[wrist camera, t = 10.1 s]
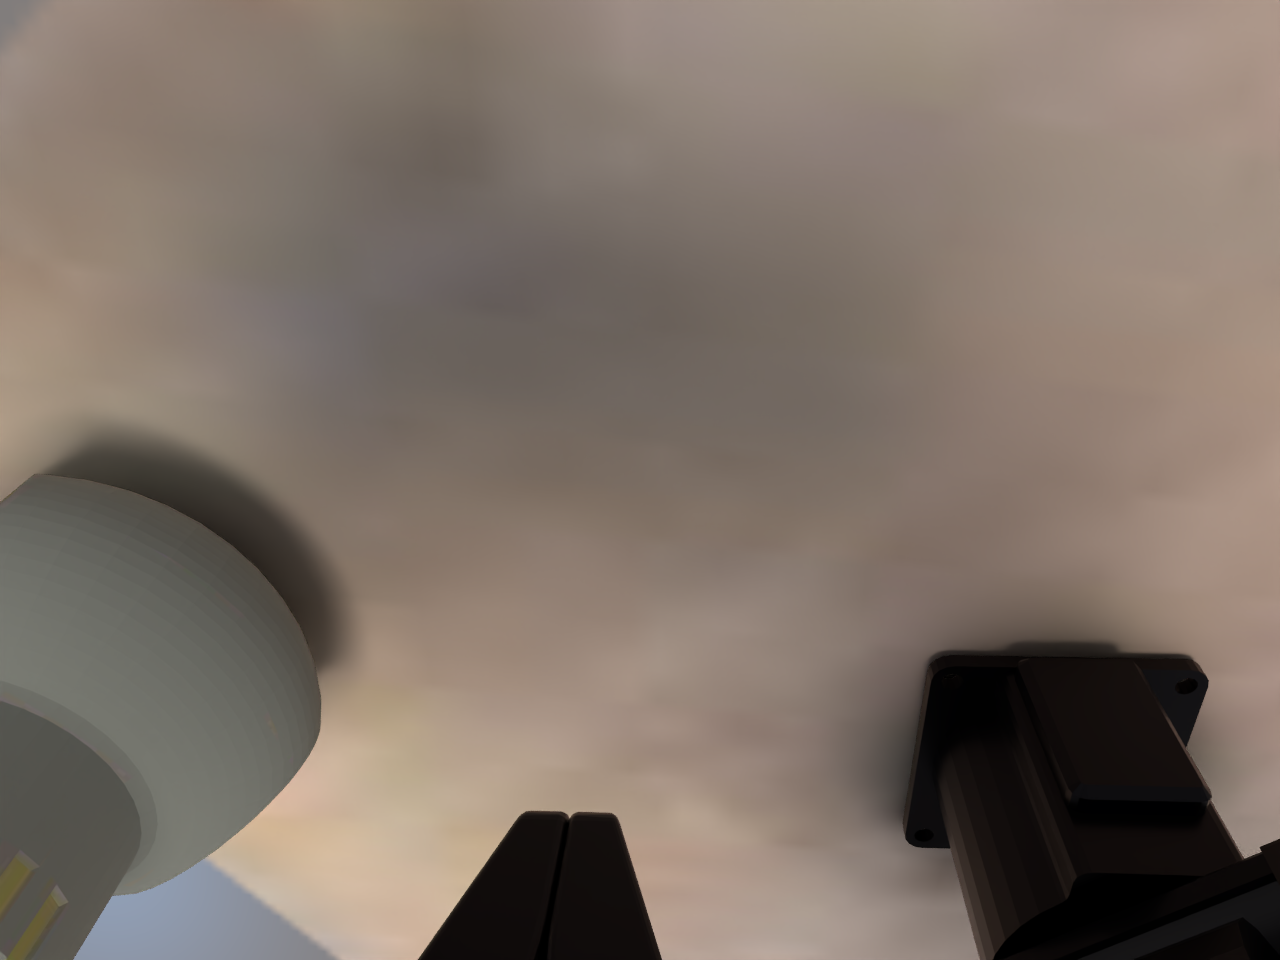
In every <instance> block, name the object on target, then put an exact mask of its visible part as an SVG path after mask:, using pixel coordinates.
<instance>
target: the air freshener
mask: <svg viewBox="0 0 1280 960" xmlns="http://www.w3.org/2000/svg"><path fill="white" fill-rule="evenodd" d="M320 725H321V694H320V689H319V684H318V679H317V673H316V668H315V664H314V660H313V657H312V655H311V652H310V650H309V647H308V645H307V642H306V640H305V637H304V635H303V632H302V630H301V628H300V626H299V624H298V623H297V621H296V619H295V618H294V616H293V614H292V613H291V611H290V610H289V608H288V606H287V605H286V603H285V601H284V600H283V598H282V597H281V596H280V594H279V593H278V592H277V591H276V590H275V588H274V587H273V586H272V585H271V584H270V582H269V581H268V580H267V579H266V578H265V577H264V575H263V574H262V573H261V572H260V571H259V569H258V568H257V567H255V566H254V565H253V564H252V563H251V562H250V561H249V560H248V559H247V558H246V557H244V556H243V555H242V554H241V553H240V552H239V551H238V550H237V549H236V548H234V547H233V546H232V545H231V544H230V543H228V542H227V541H225V540H224V539H222V538H221V537H220V536H218V535H217V534H215V533H214V532H213V531H211V530H210V529H208V528H207V527H205V526H204V525H203V524H201V523H199V522H197V521H196V520H194V519H192V518H190V517H188V516H186V515H184V514H182V513H181V512H179V511H177V510H175V509H173V508H171V507H169V506H168V505H165V504H163V503H160V502H158V501H155V500H152V499H150V498H147V497H145V496H142V495H140V494H137V493H135V492H132V491H129V490H125V489H121V488H118V487H114V486H110V485H106V484H102V483H98V482H94V481H90V480H86V479H77V478H69V477H61V476H53V475H43V474H35V475H33V476H32V477H31V478H29V479H28V480H27V481H26V482H24V483H23V484H22V485H21V486H19V487H18V488H17V489H16V490H15V491H13V492H12V493H11V494H10V495H8V496H7V497H6V498H5V499H4V500H2V501H1V502H0V960H73V959H74V957H75V956H76V954H77V952H78V951H79V949H80V947H81V946H82V944H83V943H84V941H85V939H86V938H87V936H88V934H89V933H90V931H91V929H92V928H93V926H94V925H95V923H96V921H97V919H98V918H99V916H100V915H101V913H102V911H103V910H104V908H105V907H106V905H107V903H108V902H109V900H110V898H111V897H112V896H116V895H126V894H136V893H139V892H142V891H145V890H148V889H151V888H154V887H156V886H158V885H160V884H162V883H164V882H166V881H168V880H170V879H172V878H174V877H175V876H177V875H179V874H181V873H182V872H184V871H186V870H187V869H189V868H191V867H192V866H194V865H195V864H197V863H198V862H200V861H201V860H202V859H204V858H205V857H207V856H208V855H210V854H211V853H213V852H214V851H215V850H217V849H218V848H219V847H221V846H222V845H223V844H224V843H225V842H227V841H228V840H229V839H230V838H232V837H233V836H234V835H235V834H237V833H238V832H239V831H240V830H241V829H243V828H244V827H245V826H246V825H247V824H248V823H249V822H251V821H252V820H253V819H254V818H255V817H256V816H257V815H258V814H259V813H260V812H261V811H262V810H263V809H264V808H265V807H266V806H267V805H268V804H269V803H270V802H271V801H272V800H273V799H274V798H275V797H276V796H277V795H278V794H279V793H280V792H281V791H282V790H283V789H284V787H285V786H286V785H287V784H288V783H289V782H290V781H291V779H292V778H293V777H294V776H295V774H296V773H297V772H298V770H299V769H300V768H301V766H302V765H303V763H304V762H305V760H306V759H307V757H308V756H309V754H310V752H311V751H312V749H313V747H314V745H315V743H316V741H317V738H318V735H319V732H320Z"/></svg>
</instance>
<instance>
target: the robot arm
mask: <svg viewBox="0 0 1280 960" xmlns="http://www.w3.org/2000/svg"><path fill="white" fill-rule="evenodd" d="M950 674H956V676H955V677H953V678H949V679H945V678H944V677H945V676H947V675H950ZM1187 678H1188V679H1187ZM1183 679H1187V680H1185V681H1183V682H1180V683H1178V682H1179V681H1181V680H1183ZM1208 682H1209V680H1208V679H1207V677H1206V675H1205V673H1204V672H1203V670H1202V669H1201V667H1200V666H1199V664H1198V663H1196V662H1194V661H1193V660H1187V659H1150V658H1090V657H1030V656H969V655H949V656H942V657H940V658H938V659H936V660H935V661H933V662H932V663H931V664H930V666H929V669H928V671H927V677H926V684H925V690H924V696H923V702H922V708H921V714H920V720H919V726H918V732H917V738H916V745H915V751H914V757H913V763H912V769H911V775H910V781H909V787H908V793H907V799H906V805H905V812H904V818H903V829H904V833H905V838H906V840H907V842H908V843H909V844H911V845H913V846H915V847H921V848H951V852H952V855H953V859H954V863H955V867H956V871H957V874H958V878H959V882H960V886H961V890H962V893H963V897H964V901H965V905H966V909H967V912H968V916H969V920H970V924H971V928H972V931H973V935H974V939H975V943H976V947H977V950H978V954H979V958H980V960H1280V839H1278V840H1276V841H1273V842H1271V843H1268V844H1266V845H1263V846H1261V847H1260V849H1261V851H1262V852H1260V853H1258V854H1255V855H1253V856H1250V857H1248V858H1246V859H1244V858H1243V856H1242V854H1241V853H1240V851H1239V849H1238V847H1237V846H1236V844H1235V842H1234V840H1233V838H1232V837H1231V835H1230V833H1229V831H1228V830H1227V828H1226V826H1225V824H1224V823H1223V821H1222V819H1221V817H1220V816H1219V814H1218V812H1217V810H1216V809H1215V807H1214V805H1213V803H1212V801H1211V798H1212V795H1211V791H1210V789H1209V787H1208V786H1207V784H1206V782H1205V780H1204V779H1203V777H1202V775H1201V773H1200V772H1199V770H1198V768H1197V766H1196V765H1195V763H1194V761H1193V759H1192V758H1191V756H1190V754H1189V752H1188V751H1187V749H1186V746H1187V744H1188V741H1189V738H1190V735H1191V733H1192V730H1193V727H1194V724H1195V722H1196V719H1197V716H1198V713H1199V710H1200V708H1201V705H1202V702H1203V699H1204V697H1205V694H1206V691H1207V688H1208ZM921 829H922V830H921ZM418 960H662V958H661V955H660V952H659V949H658V945H657V942H656V939H655V936H654V932H653V929H652V926H651V923H650V920H649V916H648V913H647V910H646V907H645V903H644V900H643V897H642V894H641V890H640V887H639V884H638V881H637V878H636V874H635V871H634V868H633V865H632V861H631V858H630V855H629V852H628V849H627V845H626V842H625V839H624V836H623V832H622V829H621V826H620V823H619V820H618V818H617V817H616V816H615V815H614V814H612V813H597V812H577V813H574V814H573V815H572V816H571V818H569V816H568V815H567V814H566V813H564V812H559V811H526V812H525V813H523V814H521V815H520V816H519V817H518V819H517V820H516V821H515V823H514V824H513V825H512V827H511V828H510V830H509V831H508V833H507V834H506V835H505V837H504V838H503V840H502V841H501V842H500V844H499V845H498V847H497V848H496V850H495V851H494V852H493V854H492V855H491V857H490V858H489V859H488V861H487V862H486V864H485V865H484V867H483V868H482V869H481V871H480V872H479V874H478V875H477V876H476V878H475V879H474V881H473V882H472V884H471V885H470V886H469V888H468V889H467V891H466V892H465V893H464V895H463V896H462V898H461V899H460V901H459V902H458V903H457V905H456V906H455V908H454V909H453V911H452V912H451V913H450V915H449V916H448V918H447V919H446V920H445V922H444V923H443V925H442V926H441V928H440V929H439V930H438V932H437V933H436V935H435V936H434V937H433V939H432V940H431V942H430V943H429V945H428V946H427V947H426V949H425V950H424V952H423V953H422V954H421V956H420V957H419V959H418Z"/></svg>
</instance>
